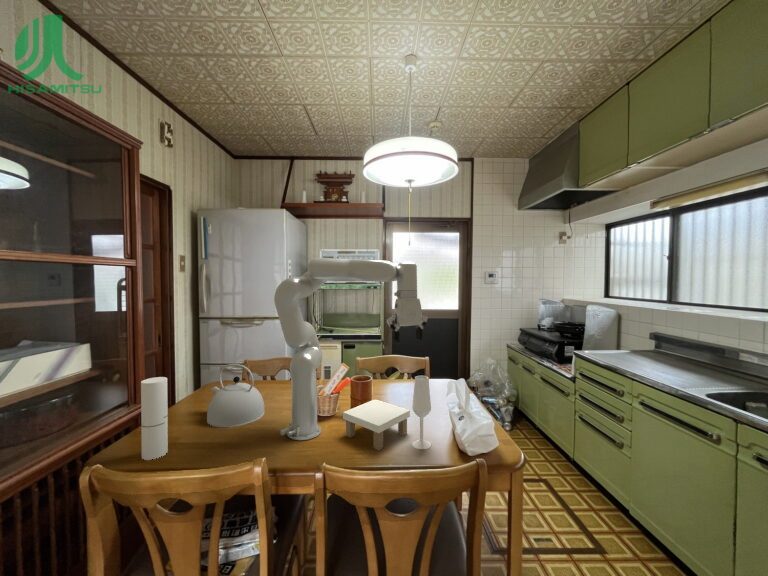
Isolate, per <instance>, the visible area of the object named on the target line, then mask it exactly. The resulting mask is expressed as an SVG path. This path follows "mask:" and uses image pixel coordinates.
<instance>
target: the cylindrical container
mask: <svg viewBox="0 0 768 576" xmlns="http://www.w3.org/2000/svg"><path fill="white" fill-rule="evenodd" d="M140 399H141V400H140V405H141V406H140V407H141V414H140V417H141V419H140V420H141V460H143V459H144V460H143V461H151V460H152V459H153V460H157V459H159V457H160V458H162V457H163V456H166V453H167V454H168V452H169V448H168V447H169V446H168V444H169V443H168V442H169V439H168V438H169V436H168V434H169V432H168V430H169V428H168V421H169V420H168V419H169V418H168V416H169V415H168V412H169V410H168V404H169V403H168V377H165V376H158V377H157V376H156V377H150V378H146V379H144V380H141V382H140ZM161 456H162V457H161ZM156 458H157V459H156ZM153 460H152V461H153Z"/></svg>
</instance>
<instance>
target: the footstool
mask: <svg viewBox="0 0 768 576" xmlns="http://www.w3.org/2000/svg"><path fill="white" fill-rule="evenodd" d="M410 417H411V410H410V409H407V408H404V407H401V406H398V405H395V404H391V403H388V402H385V401H383V400H382V401H381V400H378V399H372V400H370V401H367V402H365V403H363V404H360V405H358V406H356V407H353V408H350V409H348V410H345V411H343V412H342V419H343V420H345V436H346V437H347V438H352V437H354V436H356V425H357V426H360V427H363V428H364V429H367V430H370V431H373V441H372V442H373V443H372V444H373V449H374V448H375V450H376V449H377V451H380V450H381V449H383V448H384V431H386V430H388V429H390V428H392V427H393V426H395V425H397V424H398V425H397V426H398V427H397V435H399V434H400V436H402V437H404V436H406V435H407V434H408V419H409V418H410Z"/></svg>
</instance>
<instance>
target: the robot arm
mask: <svg viewBox="0 0 768 576" xmlns="http://www.w3.org/2000/svg"><path fill="white" fill-rule="evenodd" d="M327 281H334V282H358V281H361V282H363V281H365V282H380V283H391V282H396V289H397V290H396V291H395V292H394V293H393V295H394V297H396V299H395V301H394V302H395V303H394V309H393V310H394V311H393V315H392V316H390V317H388V318H387V319H386V323H387V325H388V327H389V328H390V330H392V334H393V336H392V338H393V342H395V343H400V341H401V340H400V328H401V327H410V326H415V327H416V329H415V338H416V340H420V341H421V340H423V330H424V327H425V326H426V325H427V322H428V319H429V316H427V315H424V314H423V313H422V312H423V311H422V304H421V300H420V298H418V265H417V263H416V262H413V261H404V262H399V263H393V262H391V261H389V260H376V259H375V260H370V259H364V260H363V259H355V258H336V257H334V258H333V257H332V258H330V257H315V258H313V259H311V260H309V263H308V265H307V271H305V273H303V274H302V275H300V276H291V277H287V278H285V279H283V281H281V283H280V284H278V286H277V288H276V290H275V292H274V299H273V300H274V306H275V309H276V312H277V315H278V320H279V323H280V327H281V330H282V334H283V337H284V341H285V342H286V345H287V346H288V347H289V348H290V349H291V348H292V349H295V350H296V351H297V353H295V354H294V355H293V357H292V358H291V360H290V362H289V374H290V381H291V422H289V423H288V426H287V427H286V428H282V429H280V431H279V435H280V436H285V435H287V437H288V438H289V439H291V440H295V441H308V440H312V439H314V438H316V437H318V436H319V435H320V434H321V433H322V427H321V425H319V424H318V379H317V369H318V368H319V367H320V366H321V364H322V361H323V352H322V348H321V346H320V342H319V339H318V336H317V332H316V330H315V328H314V326H313V325H312V324H311V323H310V322H309V321H306V320H305V321H304V316H303V314H302V310H301V307H300V306H299V304H298V300H299V299H305V298H308V297H309V296H311V295H312V294H314V293H315V292H316V291H317V290H319V288H321V287H322V286H323V285H325V284H326V283H327ZM393 322H394V323H393Z"/></svg>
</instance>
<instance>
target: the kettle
mask: <svg viewBox="0 0 768 576" xmlns="http://www.w3.org/2000/svg"><path fill="white" fill-rule="evenodd" d="M228 367H240V368H243V369H245V370H246V371H247V373H248V374H249V375H250V379H251V380H250V381H251V384H249V383H247V382H240V381H241V378H240V376H234V377H233V378H232V381H233V383H230V384H227V385H226V386H224V385H223V381H222V373H223V370H224V369H225V368H226V369H227V368H228ZM219 370H220V371H219V373H218V380H219V384H220V388H221V389H220V388H219V387H218V386H213V387H211V388H210V390H211V391H212V393H214V395H213V397H212V399H210V402H209V404H208V408H207V413H206V414H207V415H206V423H207V424H208V425H209V424H210V425H209V426H211V425H212V426H211V427H216V428H234V427H240V426H244V425H249V424H251V423H253V422H255V421H257V420H259V419H261V418H262V417H263V416H264V415H265V402H264V397H263V396H262V393H261V392H260V391H259V390H258V389H257V388H256V387H255V386H254V381H255V380H254V376H253V372H251V370H250V369H249V368H248V367H247V366H245V365H243V364H239V363H230V364H225V365H224V366H222V367H221V369H219Z"/></svg>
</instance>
